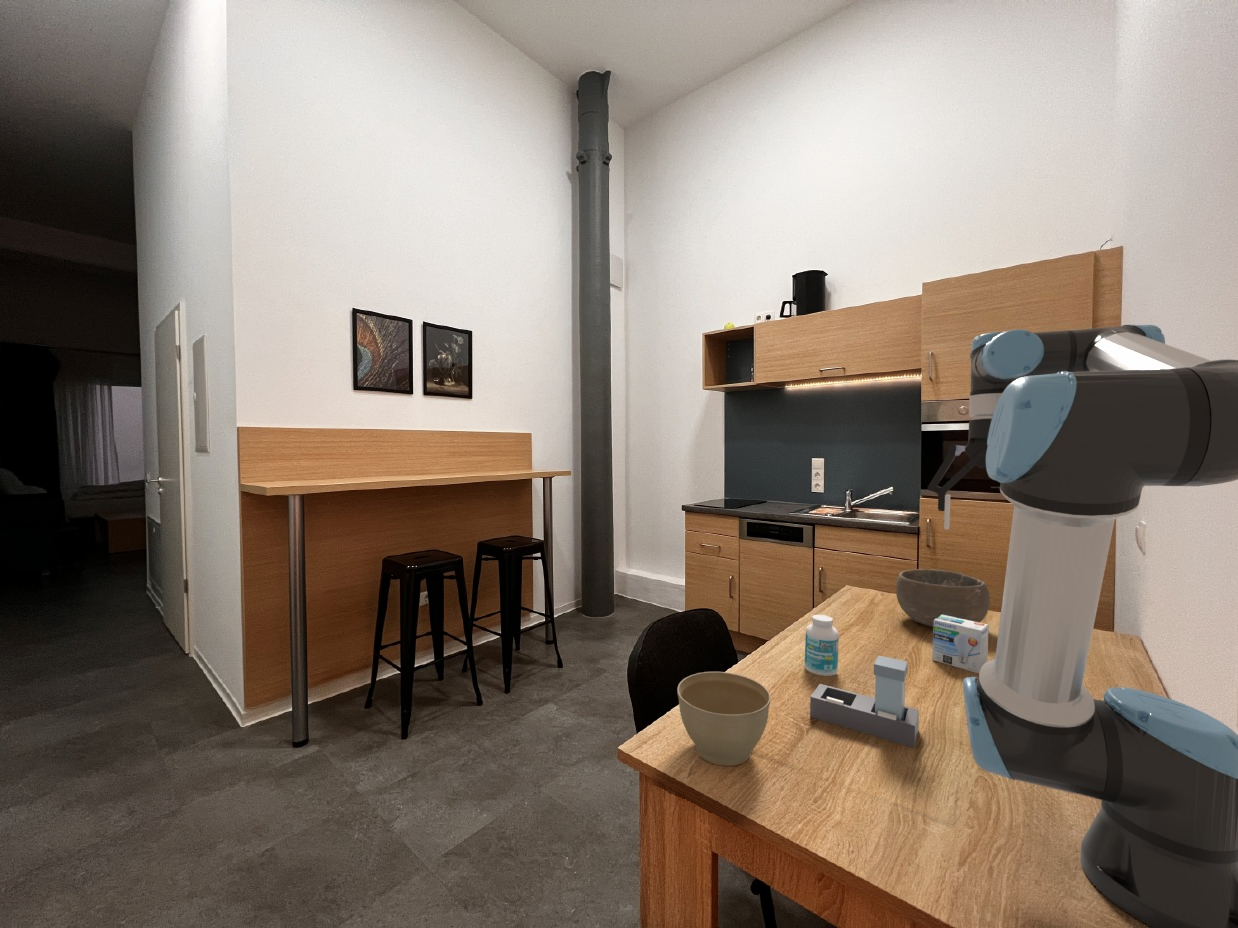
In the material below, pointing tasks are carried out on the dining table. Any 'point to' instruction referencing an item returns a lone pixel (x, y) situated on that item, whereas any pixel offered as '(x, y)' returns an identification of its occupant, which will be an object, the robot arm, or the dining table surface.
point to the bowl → (941, 595)
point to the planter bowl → (723, 715)
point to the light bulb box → (960, 643)
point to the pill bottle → (821, 646)
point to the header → (863, 715)
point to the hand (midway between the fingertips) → (989, 532)
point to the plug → (890, 686)
